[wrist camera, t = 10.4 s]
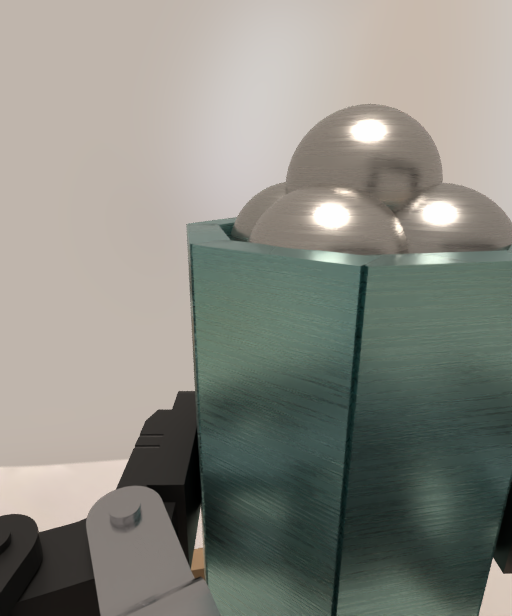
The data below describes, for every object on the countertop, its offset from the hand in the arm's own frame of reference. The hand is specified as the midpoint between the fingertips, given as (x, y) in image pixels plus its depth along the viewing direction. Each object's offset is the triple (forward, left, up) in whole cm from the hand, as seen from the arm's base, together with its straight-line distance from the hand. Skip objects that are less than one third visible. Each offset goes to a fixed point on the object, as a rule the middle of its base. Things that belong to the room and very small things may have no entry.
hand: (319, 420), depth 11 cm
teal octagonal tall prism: (0, +2, -8) cm, 8 cm away
